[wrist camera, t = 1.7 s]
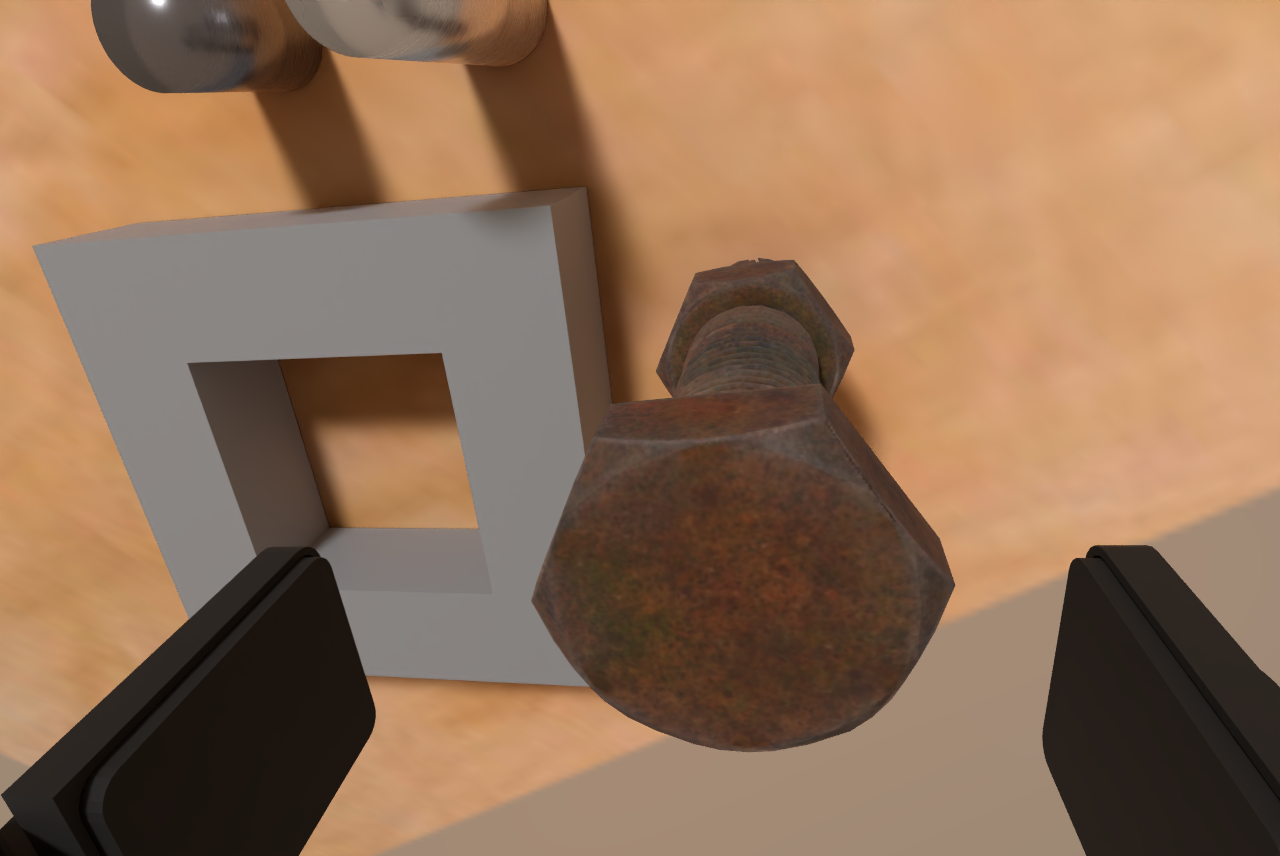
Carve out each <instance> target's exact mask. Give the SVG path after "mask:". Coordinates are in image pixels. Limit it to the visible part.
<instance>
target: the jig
mask: <svg viewBox="0 0 1280 856" xmlns="http://www.w3.org/2000/svg"><path fill="white" fill-rule="evenodd" d="M33 249H34V251H35V254H36V256H37V258H38V261H39V263H40V265H41V268H42V270H43V273H44V275H45V277H46V280H47V282H48V284H49V287H50V289H51V292H52V294H53V296H54V299H55V301H56V303H57V306H58V308H59V311H60V313H61V315H62V318H63V320H64V323H65V325H66V327H67V330H68V332H69V334H70V337H71V339H72V342H73V344H74V346H75V349H76V351H77V353H78V356H79V358H80V361H81V363H82V365H83V368H84V370H85V372H86V375H87V377H88V380H89V382H90V384H91V387H92V389H93V391H94V394H95V396H96V399H97V401H98V403H99V406H100V408H101V411H102V413H103V415H104V418H105V420H106V422H107V425H108V427H109V430H110V432H111V434H112V437H113V439H114V441H115V444H116V446H117V449H118V451H119V453H120V456H121V458H122V460H123V463H124V465H125V468H126V470H127V472H128V475H129V477H130V479H131V482H132V484H133V487H134V489H135V491H136V494H137V496H138V499H139V501H140V503H141V506H142V508H143V510H144V513H145V515H146V518H147V520H148V522H149V525H150V527H151V529H152V532H153V534H154V537H155V539H156V541H157V544H158V546H159V548H160V551H161V553H162V556H163V558H164V560H165V563H166V565H167V567H168V570H169V572H170V575H171V577H172V579H173V582H174V584H175V587H176V589H177V591H178V594H179V596H180V598H181V601H182V603H183V606H184V608H185V610H186V613H187V615H188V617H189V619H190V618H191V617H192V616H193V615H194V614H195V613H196V612H197V611H198V610H200V609H201V608H202V607H203V606H204V605H205V604H206V603H207V602H208V601H209V600H210V599H211V598H212V597H213V596H214V595H216V594H217V593H218V592H219V591H220V590H221V589H222V588H223V587H224V586H225V585H226V584H227V583H228V582H229V581H231V580H232V579H233V578H234V577H235V576H236V575H237V574H238V573H239V572H240V571H241V570H242V569H243V568H244V567H246V566H247V565H248V564H249V563H250V562H251V561H252V560H253V559H254V558H255V557H256V556H257V555H258V554H259V553H261V552H262V551H263V550H265V549H266V548H269V547H311V548H314V549H315V550H316V551H317V552H318V553H319V554H320V556H321V557H323V558H326V559H327V560H328V561H329V562H330V565H331V567H332V570H333V573H334V576H335V579H336V583H337V586H338V589H339V592H340V595H341V599H342V602H343V605H344V608H345V611H346V615H347V618H348V621H349V624H350V628H351V631H352V634H353V637H354V640H355V644H356V647H357V650H358V653H359V657H360V660H361V663H362V666H363V669H364V673H365V675H367V676H387V677H406V678H426V679H446V680H466V681H486V682H505V683H525V684H545V685H565V686H584V687H589V686H588V684H587V683H586V682H585V681H584V680H583V679H582V678H581V676H580V675H579V674H578V673H577V672H576V671H575V670H574V669H573V667H572V666H571V665H570V663H569V662H568V660H567V659H566V658H565V656H564V655H563V653H562V652H561V651H560V649H559V648H558V646H557V645H556V644H555V642H554V641H553V639H552V637H551V635H550V634H549V632H548V630H547V628H546V627H545V625H544V623H543V621H542V620H541V618H540V616H539V614H538V613H537V611H536V609H535V607H534V605H533V604H532V602H531V599H532V596H533V592H534V589H535V586H536V582H537V579H538V576H539V573H540V571H541V568H542V565H543V562H544V559H545V557H546V554H547V551H548V549H549V546H550V544H551V541H552V538H553V536H554V533H555V530H556V528H557V525H558V523H559V520H560V517H561V515H562V512H563V510H564V507H565V504H566V502H567V499H568V496H569V494H570V491H571V489H572V486H573V483H574V481H575V479H576V476H577V474H578V471H579V469H580V467H581V464H582V462H583V460H584V457H585V455H586V452H587V450H588V448H589V445H590V443H591V441H592V438H593V436H594V434H595V432H596V430H597V428H598V426H599V424H600V422H601V420H602V418H603V417H604V415H605V413H606V411H607V409H608V407H609V405H610V404H612V397H611V389H610V380H609V372H608V364H607V355H606V347H605V338H604V330H603V322H602V313H601V305H600V296H599V288H598V280H597V271H596V263H595V254H594V246H593V237H592V229H591V221H590V212H589V204H588V195H587V187H586V186H585V187H573V188H561V189H548V190H536V191H524V192H512V193H500V194H487V195H475V196H463V197H451V198H439V199H426V200H414V201H402V202H390V203H378V204H366V205H353V206H341V207H329V208H317V209H305V210H292V211H280V212H268V213H256V214H244V215H231V216H219V217H207V218H195V219H183V220H171V221H158V222H146V223H136V224H131V225H126V226H122V227H117V228H113V229H108V230H103V231H99V232H94V233H90V234H85V235H81V236H76V237H71V238H67V239H62V240H58V241H53V242H48V243H44V244H39V245H35V246H33ZM427 353H442V357H443V361H444V366H445V371H446V376H447V380H448V385H449V390H450V394H451V399H452V404H453V409H454V413H455V418H456V423H457V427H458V432H459V437H460V441H461V446H462V451H463V456H464V460H465V465H466V470H467V474H468V479H469V484H470V488H471V493H472V498H473V503H474V507H475V512H476V517H477V521H478V526H479V529H428V528H329V525H328V521H327V518H326V515H325V512H324V508H323V505H322V502H321V499H320V495H319V492H318V489H317V486H316V482H315V479H314V476H313V473H312V469H311V466H310V463H309V460H308V456H307V453H306V450H305V447H304V443H303V440H302V437H301V434H300V430H299V427H298V424H297V421H296V417H295V414H294V411H293V408H292V404H291V401H290V398H289V395H288V391H287V388H286V385H285V382H284V378H283V375H282V372H281V369H280V365H279V362H278V359H300V358H325V357H350V356H376V355H401V354H427Z"/></svg>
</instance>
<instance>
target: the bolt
mask: <svg viewBox="0 0 1280 856" xmlns="http://www.w3.org/2000/svg"><path fill="white" fill-rule="evenodd" d="M758 260H759V262H757V263H756V262H755V260H752V261H749V260H745V261H739V262H737V263H735V264H733V265H731V266H728V267H722V268H717V269H712V270H708V271H703V272H699V273H696V274H695V276H694V278H693V281H692V283H691V285H690V288H689V290H688V292H687V295H686V297H685V300H684V302H683V304H682V307H681V309H680V312H679V314H678V317H677V319H676V322H675V324H674V327H673V329H672V332H671V334H670V337H669V339H668V342H667V344H666V347H665V349H664V351H663V354H662V357H661V359H660V362H659V364H658V367H657V370H656V372H657V374H658V376H659V377H660V379H661V380H662V382H663V384H664V385H665V387H666V388H667V390H668V391H669V393H670V394H671V396H672V397H673V398H665V399H655V400H645V401H635V402H625V403H615V404H610V405H609V407H608V409H607V411H606V413H605V415H604V417H603V418H602V420H601V422H600V424H599V426H598V428H597V430H596V432H595V434H594V436H593V438H592V441H591V443H590V445H589V448H588V450H587V452H586V455H585V457H584V460H583V462H582V464H581V467H580V469H579V471H578V474H577V476H576V479H575V481H574V483H573V486H572V489H571V491H570V494H569V496H568V499H567V502H566V504H565V507H564V510H563V512H562V515H561V517H560V520H559V523H558V525H557V528H556V530H555V533H554V536H553V538H552V541H551V544H550V546H549V549H548V551H547V554H546V557H545V559H544V562H543V565H542V568H541V571H540V573H539V576H538V579H537V582H536V586H535V589H534V592H533V596H532V599H531V602H532V604H533V605H534V607H535V609H536V611H537V613H538V614H539V616H540V618H541V620H542V621H543V623H544V625H545V627H546V628H547V630H548V632H549V634H550V635H551V637H552V639H553V641H554V642H555V644H556V645H557V646H558V648H559V649H560V651H561V652H562V653H563V655H564V656H565V658H566V659H567V660H568V662H569V663H570V665H571V666H572V667H573V669H574V670H575V671H576V672H577V673H578V674H579V675H580V676H581V678H582V679H583V680H584V681H585V682H586V683H587V684H588V686H589V687H591V688H592V689H593V690H594V691H595V692H596V693H597V694H598V695H599V696H600V697H601V698H602V699H603V700H604V701H605V702H607V703H608V704H610V705H611V706H613V707H614V708H615V709H617V710H618V711H620V712H621V713H623V714H624V715H625V716H627V717H629V718H631V719H633V720H635V721H637V722H639V723H641V724H643V725H646V726H648V727H650V728H652V729H654V730H656V731H659V732H662V733H665V734H667V735H670V736H673V737H676V738H679V739H682V740H684V741H687V742H690V743H693V744H697V745H701V746H706V747H710V748H715V749H719V750H729V751H742V752H762V751H775V750H781V749H786V748H792V747H797V746H803V745H808V744H811V743H815V742H818V741H821V740H824V739H827V738H830V737H833V736H836V735H840V734H843V733H846V732H849V731H851V730H853V729H854V728H856V727H857V726H859V725H861V724H862V723H864V722H865V721H867V720H868V719H870V718H872V717H873V716H874V715H875V714H876V713H877V712H878V711H879V710H880V709H881V708H883V707H884V706H885V705H886V704H887V703H888V702H889V701H890V700H891V699H892V698H893V696H894V695H895V694H896V692H897V691H898V690H899V688H900V687H901V686H902V684H903V683H904V681H905V680H906V678H907V677H908V675H909V674H910V672H911V671H912V669H913V668H914V666H915V665H916V663H917V662H918V660H919V658H920V657H921V655H922V653H923V651H924V650H925V648H926V646H927V644H928V643H929V641H930V639H931V638H932V636H933V634H934V632H935V630H936V628H937V626H938V624H939V621H940V619H941V617H942V614H943V612H944V610H945V608H946V605H947V603H948V601H949V598H950V596H951V594H952V591H953V589H954V587H955V583H954V580H953V577H952V574H951V571H950V568H949V565H948V562H947V559H946V556H945V553H944V550H943V547H942V544H941V541H940V538H939V537H938V536H937V535H936V533H935V532H934V531H933V529H932V528H931V527H930V525H929V524H928V523H927V522H926V520H925V519H924V518H923V516H922V515H921V514H920V512H919V511H918V510H917V508H916V507H915V506H914V505H913V503H912V502H911V501H910V499H909V498H908V497H907V495H906V494H905V493H904V492H903V490H902V489H901V488H900V486H899V485H898V484H897V482H896V481H895V480H894V478H893V477H892V476H891V475H890V473H889V472H888V471H887V469H886V468H885V467H884V465H883V464H882V463H881V462H880V460H879V459H878V458H877V456H876V455H875V454H874V452H873V451H872V450H871V448H870V447H869V446H868V445H867V443H866V442H865V441H864V439H863V438H862V437H861V435H860V434H859V433H858V432H857V430H856V429H855V428H854V426H853V425H852V424H851V422H850V421H849V420H848V418H847V417H846V416H845V415H844V413H843V412H842V411H841V409H840V408H839V407H838V405H837V404H836V403H835V402H834V400H833V399H832V398H833V396H834V394H835V392H836V390H837V388H838V386H839V384H840V382H841V380H842V378H843V376H844V373H845V371H846V369H847V366H848V364H849V362H850V359H851V357H852V355H853V352H854V347H853V343H852V340H851V336H850V335H849V333H848V332H847V330H846V329H845V327H844V326H843V324H842V323H841V321H840V320H839V318H838V317H837V315H836V314H835V313H834V311H833V310H832V308H831V307H830V306H829V304H828V303H827V301H826V300H825V299H824V297H823V296H822V295H821V293H820V292H819V291H818V289H817V288H816V287H815V285H814V284H813V283H812V281H811V280H810V279H809V278H808V276H807V275H806V274H805V273H804V271H803V270H802V269H801V268H800V267H799V265H798V264H797V263H796V262H795V261H794V260H783V261H773V260H770V259H762V258H758Z"/></svg>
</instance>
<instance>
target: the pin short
mask: <svg viewBox="0 0 1280 856" xmlns="http://www.w3.org/2000/svg"><path fill="white" fill-rule="evenodd" d="M91 10H92V17H93V22H94V26H95V29H96V32H97V35H98V37H99V40H100V42H101V44H102V46H103V48H104V50H105V52H106V53H107V55H108V56H109V58H110V59H111V61H112V62H113V63H114V64H115V66H116V67H117V68H118V69H119V70H120V71H121V72H122V73H123V74H124V75H125V76H126V77H127V78H129V79H130V80H131V81H133V82H134V83H136V84H137V85H139V86H141V87H143V88H145V89H148V90H150V91H154V92H159V93H203V92H268V91H292V90H296V89H299V88H301V87H303V86H304V85H306V84H307V83H308V82H309V81H310V80H311V79H312V78H313V77H314V75H315V73H316V72H317V70H318V67H319V65H320V61H321V56H322V44H320V43H319V42H318V41H316V40H315V39H314V38H313V37H312V36H310V35H309V34H308V33H307V32H306V31H305V30H304V28H303V27H302V26H301V25H300V24H299V22H298V21H297V20H296V18H295V17H294V15H293V14H292V12H291V10H290V9H289V7H288V5H287V3H286V1H285V0H91Z"/></svg>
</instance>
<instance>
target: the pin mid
mask: <svg viewBox="0 0 1280 856" xmlns="http://www.w3.org/2000/svg"><path fill="white" fill-rule="evenodd" d="M285 1H286V3H287V5H288V7H289V9H290V10H291V12H292V14H293V15H294V17H295V18H296V20H297V21H298V22H299V24H300V25H301V26H302V27H303V28H304V30H305V31H306V32H307V33H308V34H309V35H310V36H312V37H313V38H314V39H315V40H316V41H318V42H319V43H320V44H322V45H323V46H325V47H327V48H328V49H330V50H332V51H334V52H337V53H339V54H342V55H346V56H350V57H358V58H374V59H390V60H406V61H422V62H438V63H455V64H471V65H487V66H507V65H512V64H514V63H517V62H519V61H521V60H523V59H524V58H525V57H527V56H528V55H529V54H530V53H531V52H532V51H533V50H534V49H535V47H536V46H537V45H538V43H539V41H540V39H541V37H542V35H543V32H544V29H545V26H546V20H547V0H285Z"/></svg>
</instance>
